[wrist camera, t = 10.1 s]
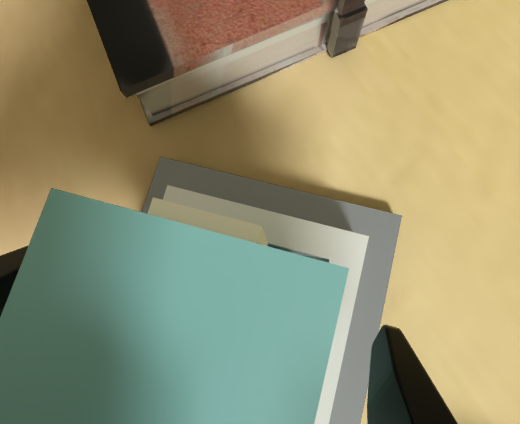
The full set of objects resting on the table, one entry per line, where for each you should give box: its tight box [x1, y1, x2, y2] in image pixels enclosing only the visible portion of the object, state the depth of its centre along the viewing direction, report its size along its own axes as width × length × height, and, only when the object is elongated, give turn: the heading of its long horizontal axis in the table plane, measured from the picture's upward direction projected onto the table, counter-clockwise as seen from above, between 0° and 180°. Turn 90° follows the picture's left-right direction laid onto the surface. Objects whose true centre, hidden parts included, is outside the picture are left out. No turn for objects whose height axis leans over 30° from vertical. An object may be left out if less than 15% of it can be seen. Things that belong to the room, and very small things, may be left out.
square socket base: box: [142, 157, 402, 424], centre depth 17 cm, size 14×14×4 cm
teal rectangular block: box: [0, 188, 349, 424], centre depth 11 cm, size 5×5×13 cm
